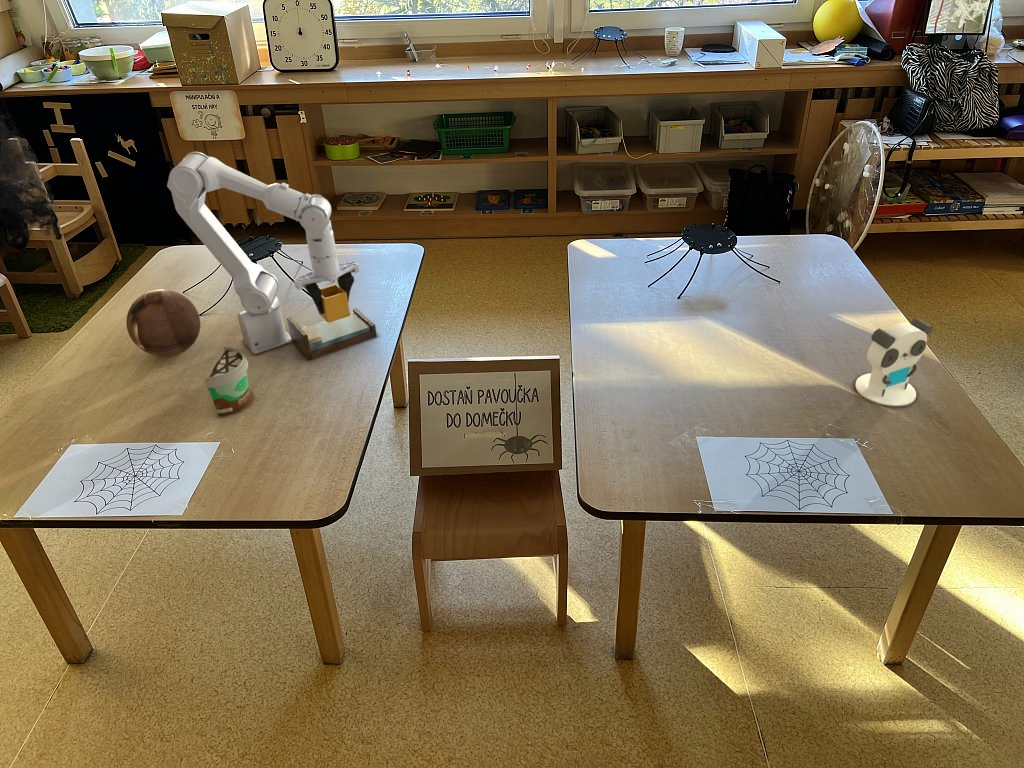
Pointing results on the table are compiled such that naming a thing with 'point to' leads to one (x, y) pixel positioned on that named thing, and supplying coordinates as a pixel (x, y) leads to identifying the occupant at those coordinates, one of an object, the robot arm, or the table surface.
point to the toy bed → (331, 334)
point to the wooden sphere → (163, 323)
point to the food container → (229, 383)
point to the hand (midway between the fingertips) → (333, 308)
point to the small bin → (334, 303)
